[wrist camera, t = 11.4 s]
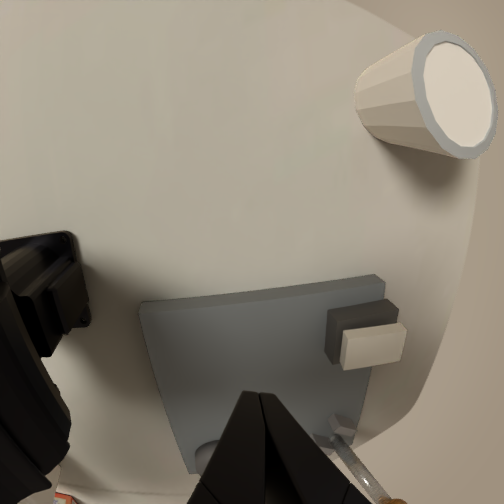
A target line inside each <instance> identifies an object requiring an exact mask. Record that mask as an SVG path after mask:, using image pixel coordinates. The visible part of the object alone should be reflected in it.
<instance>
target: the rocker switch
mask: <svg viewBox="0 0 504 504" xmlns="http://www.w3.org/2000/svg"><path fill="white" fill-rule="evenodd" d="M406 334H407V330H406V328H405V327H404V326H403V325H402V323H395V324H388V325H381V326H374V327H367V328H359V329H351V330H343V337H342V346H341V354H340V363H341V366H342V368H343V370H351V369H357V368H364V367H370V366H376V365H381V364H387V363H392V362H397V361H400V360H401V356H402V351H403V347H404V343H405V339H406Z"/></svg>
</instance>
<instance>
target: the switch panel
mask: <svg viewBox="0 0 504 504" xmlns="http://www.w3.org/2000/svg"><path fill="white" fill-rule="evenodd" d="M384 290H385V282H384V281H383V280H382V279H380V278H379V277H378V276H376V275H375V274H373V275H367V276H360V277H353V278H347V279H340V280H333V281H326V282H318V283H311V284H304V285H296V286H288V287H280V288H272V289H264V290H256V291H248V292H239V293H230V294H221V295H212V296H202V297H192V298H182V299H172V300H161V301H150V302H142V303H141V307H140V310H139V313H138V314H139V318H140V323H141V327H142V331H143V335H144V339H145V343H146V347H147V350H148V354H149V358H150V361H151V365H152V368H153V372H154V375H155V379H156V382H157V385H158V388H159V392H160V395H161V398H162V401H163V404H164V407H165V410H166V413H167V416H168V419H169V422H170V425H171V428H172V431H173V433H174V436H175V439H176V442H177V444H178V447H179V450H180V452H181V455H182V457H183V460H184V462H185V465H186V467H187V470H188V472H189V474H199V475H200V476H202V474H203V472H204V470H205V468H206V466H207V464H208V462H209V460H210V458H211V456H212V454H213V452H214V450H215V448H216V445H217V443H218V441H219V439H220V437H221V435H222V433H223V431H224V429H225V427H226V424H227V422H228V420H229V418H230V416H231V414H232V412H233V409H234V407H235V405H236V403H237V401H238V399H239V396H240V394H241V392H242V391H243V390H247V391H256V392H257V393H260V392H266V393H273V394H275V395H276V396H277V397H278V398H279V400H280V401H281V402H282V403H283V405H284V406H285V407H286V408H287V410H288V411H289V412H290V413H291V414H292V416H293V417H294V418H295V419H296V420H297V422H298V423H299V424H300V425H301V426H302V428H303V429H304V430H305V431H306V432H307V433H308V435H309V436H310V437H311V438H312V439H313V440H314V442H315V443H316V444H317V445H318V446H319V447H320V449H321V450H322V451H323V452H324V453H325V454H326V455H330V454H332V453H333V452H334V451H335V450H334V449H333V448H332V446H331V445H330V444H329V441H328V440H329V437H330V436H331V435H332V434H339V435H341V437H342V438H343V439H344V440H345V442H346V443H347V444H348V446H349V445H352V443H353V439H354V436H355V433H356V432H357V425H358V422H359V418H360V414H361V411H362V407H363V403H364V399H365V394H366V390H367V386H368V382H369V377H370V372H371V368H372V366H370V367H364V368H357V369H351V370H343V368H342V366H341V363H340V354H341V346H342V337H343V330H351V329H359V328H367V327H374V326H381V325H388V324H395V323H396V322H397V316H398V311H399V309H398V308H397V307H396V306H395V305H394V304H393V303H391V302H390V301H389V300H388V299H383V298H384Z"/></svg>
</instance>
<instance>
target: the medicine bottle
mask: <svg viewBox="0 0 504 504" xmlns="http://www.w3.org/2000/svg"><path fill="white" fill-rule="evenodd" d="M60 472H61V467H60V466H59V465H57V466H56V467H55V468H54V469H53V470H52V471H51V472H50V473H49V474H47V475H46V477H47V478H48V480H49V481H50V482H51V483H52V487H51V488H50V489H47V490H44V491H40V492H37V493H34V494H32V495H30V496H28V497H27V498H25V499H23V500H21V501H20V502H19V503H18V504H53V501H54V496H55V492H56V488H57V484H58V480H59V476H60Z"/></svg>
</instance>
